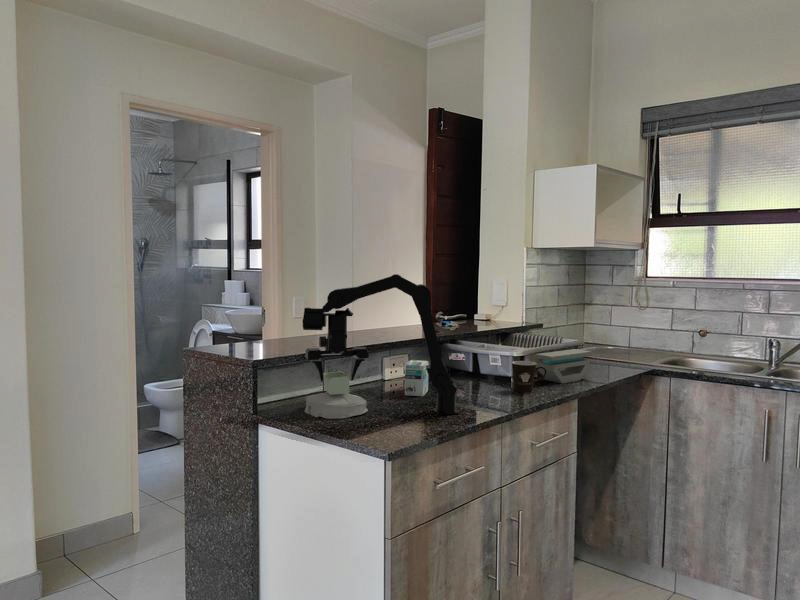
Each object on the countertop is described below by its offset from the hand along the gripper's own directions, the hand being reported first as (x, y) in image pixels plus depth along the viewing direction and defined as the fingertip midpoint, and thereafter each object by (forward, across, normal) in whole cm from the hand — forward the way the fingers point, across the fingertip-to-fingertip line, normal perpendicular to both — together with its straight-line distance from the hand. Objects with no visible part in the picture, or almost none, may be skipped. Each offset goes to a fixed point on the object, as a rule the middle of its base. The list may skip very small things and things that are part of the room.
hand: (336, 381), depth 191 cm
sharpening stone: (+9, -96, -27) cm, 100 cm away
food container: (+10, 0, 0) cm, 10 cm away
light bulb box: (+9, -32, -18) cm, 38 cm away
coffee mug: (+9, -72, -12) cm, 74 cm away
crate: (+3, 0, 0) cm, 3 cm away
